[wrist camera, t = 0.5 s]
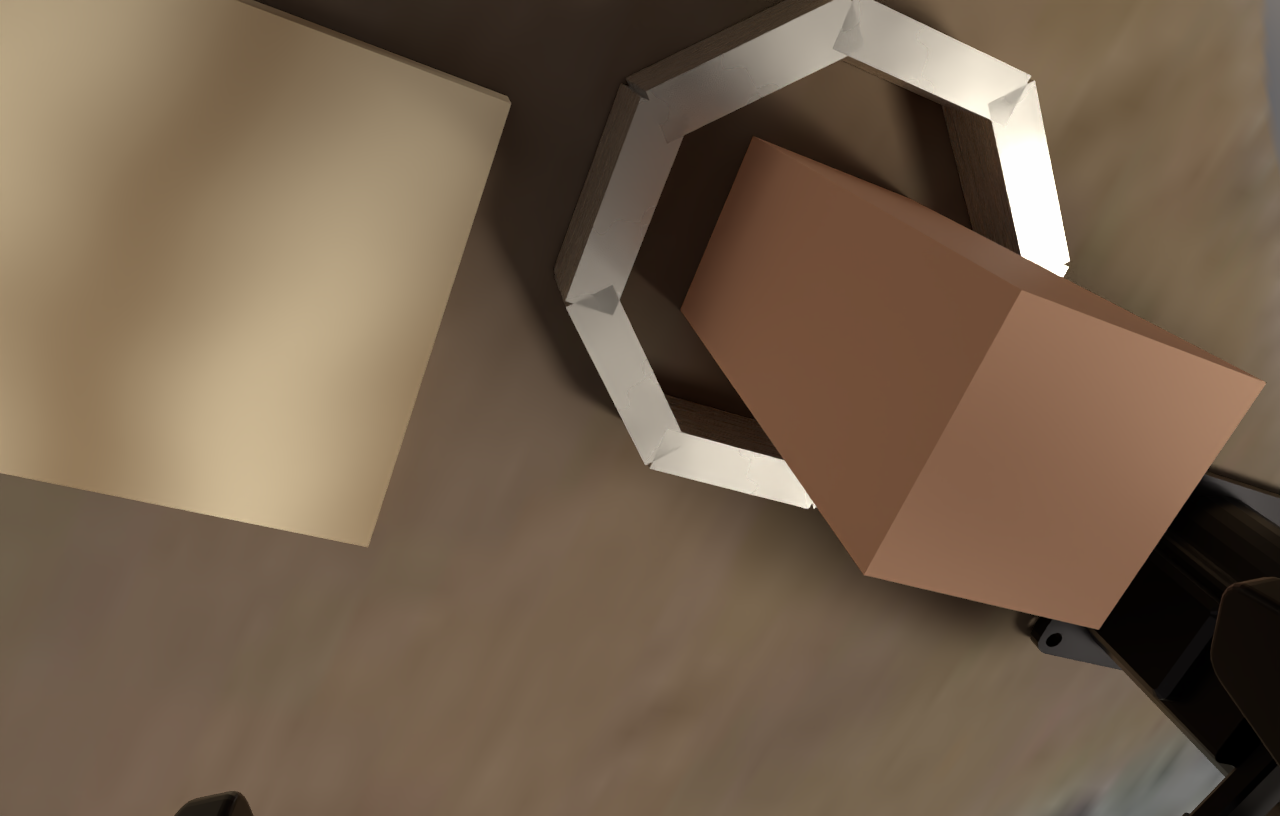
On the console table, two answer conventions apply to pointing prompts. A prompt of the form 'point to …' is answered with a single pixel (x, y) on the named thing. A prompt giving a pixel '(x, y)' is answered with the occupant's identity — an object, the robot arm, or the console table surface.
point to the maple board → (224, 253)
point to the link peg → (954, 392)
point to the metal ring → (732, 78)
